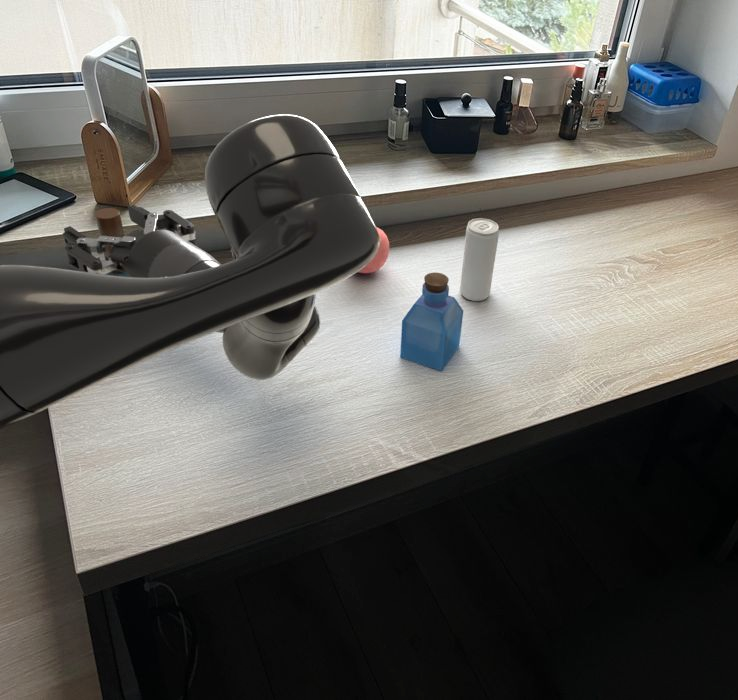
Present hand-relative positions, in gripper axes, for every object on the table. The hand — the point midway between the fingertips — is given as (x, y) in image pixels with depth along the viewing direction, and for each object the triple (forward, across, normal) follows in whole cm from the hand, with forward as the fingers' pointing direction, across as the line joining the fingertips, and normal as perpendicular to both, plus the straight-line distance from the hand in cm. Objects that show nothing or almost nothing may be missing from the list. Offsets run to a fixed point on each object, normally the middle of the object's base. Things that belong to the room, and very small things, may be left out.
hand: (100, 222), depth 92 cm
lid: (-2, 0, +6) cm, 7 cm away
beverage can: (-32, -39, +14) cm, 53 cm away
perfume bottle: (-36, -23, +14) cm, 46 cm away
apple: (-16, -32, +14) cm, 38 cm away
